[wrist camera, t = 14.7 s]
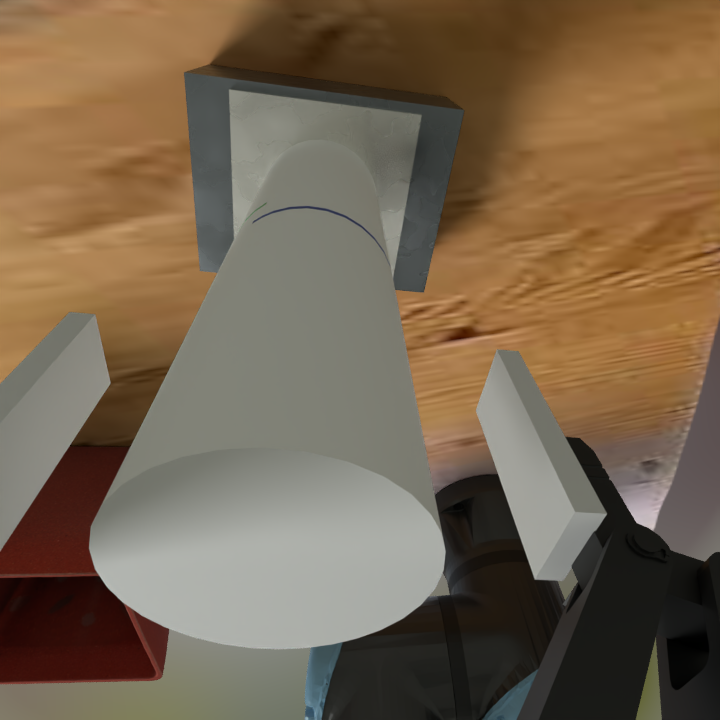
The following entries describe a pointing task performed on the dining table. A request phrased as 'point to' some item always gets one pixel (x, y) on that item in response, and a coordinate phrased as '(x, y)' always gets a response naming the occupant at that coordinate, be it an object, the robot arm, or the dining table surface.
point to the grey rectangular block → (313, 122)
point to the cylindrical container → (283, 436)
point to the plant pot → (70, 588)
